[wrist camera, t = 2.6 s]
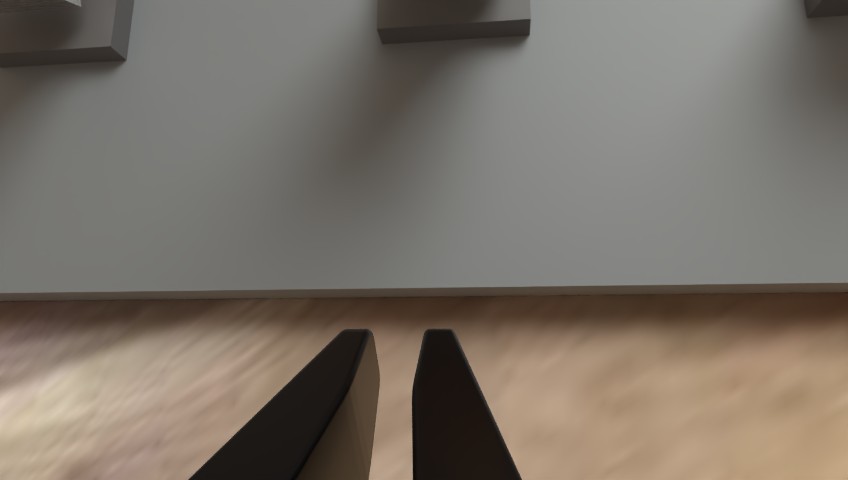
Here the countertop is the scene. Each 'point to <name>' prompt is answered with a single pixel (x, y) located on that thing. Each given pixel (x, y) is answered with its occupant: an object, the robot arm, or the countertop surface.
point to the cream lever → (36, 5)
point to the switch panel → (423, 148)
